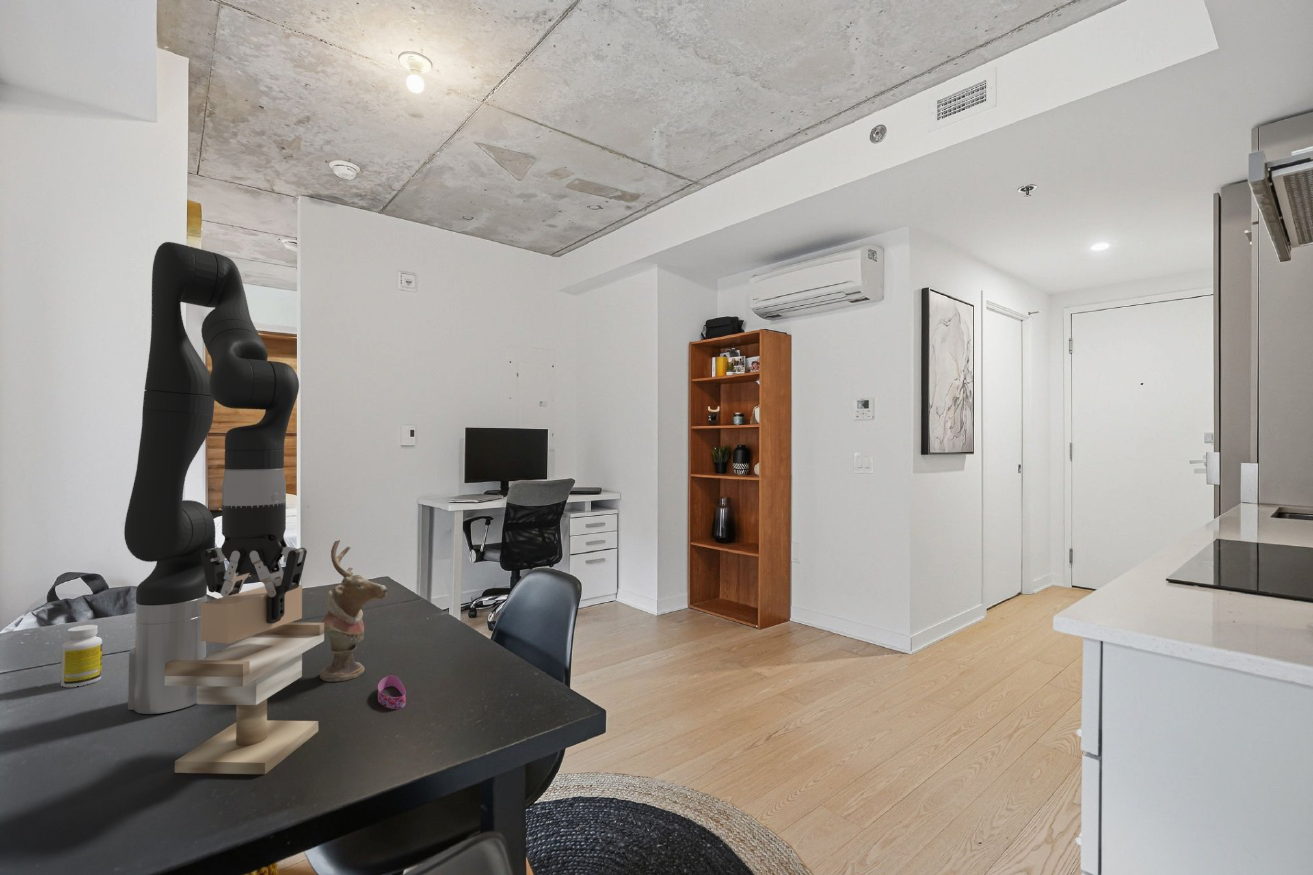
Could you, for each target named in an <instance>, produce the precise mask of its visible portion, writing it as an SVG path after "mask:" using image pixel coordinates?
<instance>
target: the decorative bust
mask: <svg viewBox="0 0 1313 875" xmlns="http://www.w3.org/2000/svg"><path fill="white" fill-rule="evenodd" d="M340 542H341V540H340V539H339V540H335V541H334V542H333V545H332V546H331V550H330V557H331V558H330V559H331V563H332V565H333V567H334V569H335V570H336V572H337V573H338V575H339V574H340V575H341V576H342V577H343V579H342V580H341V583H340V584H338V585H336V586H334V587H333V588H331V589H329V591H328V592H327V595H326V598H325V599H324V605H325V606H326V609H327V613H326V614H325V617H324V618H323V620H322V621H321V622H320V623H324V634H325V635H327V636H328V637H329V640H330V650H329V651H330V653H331V654H334V656H333V660H332V662H331V663H330V664H329V665H327V666H325V667H324V668H322V669H321V671H319V678H320V679H321V680H322V681H324V682H344V681H350V680H353V679H356V678H358V677H360V676H361V675H363V674H364V673H365V669H366V668H365V666H363V664H362V663H360V662H358V661H357V662H356V661H355V659H354V658H355V657H354V651H356V649H357V644H359V643H360V642H362V641H363V640H364V638H365V625H364V620H363V616H364V612H363V610H362V608H363V607H364V605H366V604H367V603H370V602H372V601H375V600H384V599H385V598H386V596H387V595H388V591H389V589H388V588H387V586H386V585H383V584H379V583H377V582H373V581H370V580H369V579H368V578H366V577H365V578H364V577H363V576H361V575H360V574H357V575H356V574H355V575H354V573H353V572H352V571H353V569H354V568H353V567H349V568H347V570H346V569H345V568H344V567H342V566H341V562H342V560H343V558H344V557H345V555H346V554H347V553H348V552H349V551H350V549H351V547H350V546H346V547H345V548H344V549H343V550H342V551H341V552H340V553H339V554H338V555H337V550H338V547H339V544H340Z"/></svg>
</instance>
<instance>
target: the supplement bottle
mask: <svg viewBox="0 0 1313 875" xmlns="http://www.w3.org/2000/svg"><path fill="white" fill-rule="evenodd" d="M98 632H99V631H98V625H96V624H85V625H78V626H74V627H70V628H68V629H67V631H66V633H67V634H66V638H67V639H68V640H67V641H65V642H64V643H62V645H61V650H60V651H61V653H60V654H61V655H60V686H61V687H62V686H63V687H62V688H78V687H77V686H79V687H83V685H84V686H87V684H88V685H91V684H94V683H97V682H99V681H100V680H101V679H102V677H103V676H102V674H103V673H102V672H103V670H102V669H103V639H102V638H101V637H99V636H97V634H98Z"/></svg>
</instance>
